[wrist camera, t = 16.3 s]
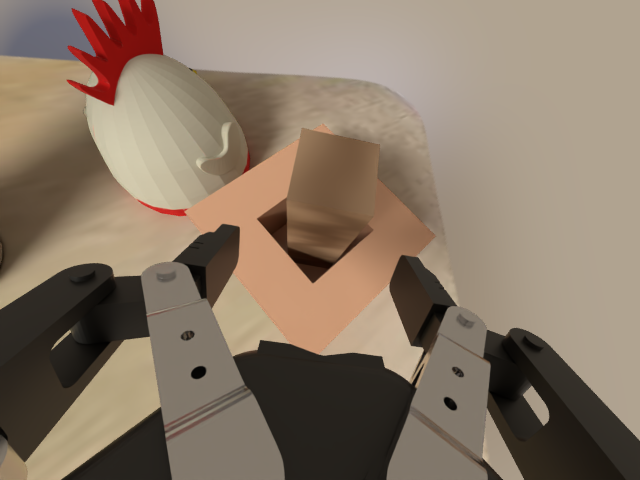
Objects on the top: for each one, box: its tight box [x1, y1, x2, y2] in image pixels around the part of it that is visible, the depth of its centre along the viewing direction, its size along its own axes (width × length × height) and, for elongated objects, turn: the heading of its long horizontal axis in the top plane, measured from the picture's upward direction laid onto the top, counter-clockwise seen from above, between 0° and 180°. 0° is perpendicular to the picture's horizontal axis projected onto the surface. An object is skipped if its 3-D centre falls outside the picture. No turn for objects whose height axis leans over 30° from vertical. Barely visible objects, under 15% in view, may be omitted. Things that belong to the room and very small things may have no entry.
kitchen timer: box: [67, 0, 250, 216], centre depth 21 cm, size 14×14×15 cm
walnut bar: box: [286, 128, 380, 269], centre depth 19 cm, size 4×4×14 cm
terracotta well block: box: [184, 124, 435, 354], centre depth 23 cm, size 15×15×7 cm
